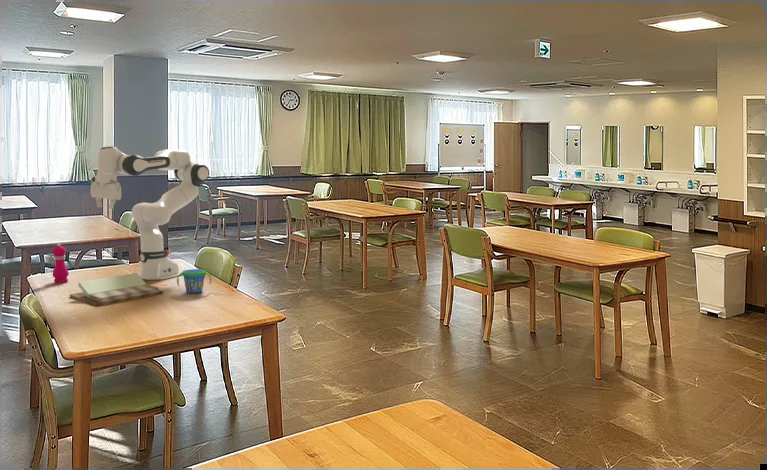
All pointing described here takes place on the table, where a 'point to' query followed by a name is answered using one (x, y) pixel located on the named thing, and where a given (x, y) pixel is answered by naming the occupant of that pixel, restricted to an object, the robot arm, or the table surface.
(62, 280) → the pepper mill
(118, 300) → the floor board
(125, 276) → the board
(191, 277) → the snack cup
